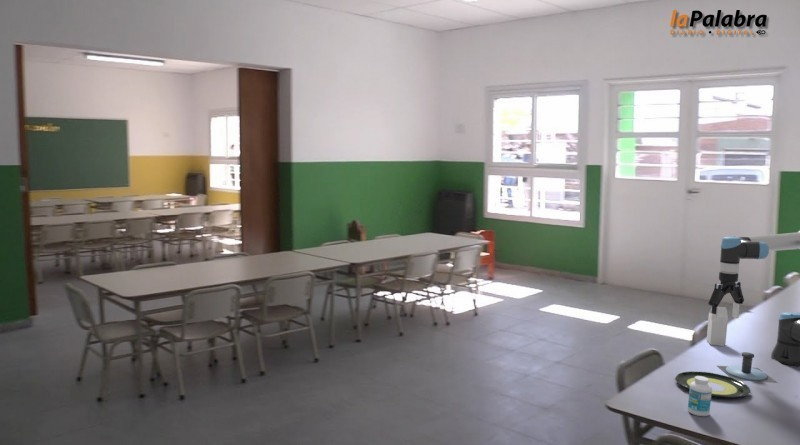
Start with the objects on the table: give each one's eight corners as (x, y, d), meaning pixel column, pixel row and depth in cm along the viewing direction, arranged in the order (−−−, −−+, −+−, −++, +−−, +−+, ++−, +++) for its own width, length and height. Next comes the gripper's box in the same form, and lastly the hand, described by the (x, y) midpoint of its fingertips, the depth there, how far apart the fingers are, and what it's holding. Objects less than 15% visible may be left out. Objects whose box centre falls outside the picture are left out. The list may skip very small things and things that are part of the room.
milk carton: (725, 346, 321) (728, 309, 319) (710, 345, 322) (713, 308, 320) (721, 342, 328) (724, 305, 326) (706, 340, 329) (709, 304, 327)
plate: (719, 407, 245) (720, 400, 245) (659, 382, 270) (660, 376, 269) (765, 395, 258) (765, 389, 258) (704, 372, 283) (704, 367, 282)
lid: (756, 368, 287) (758, 349, 286) (774, 381, 271) (776, 361, 270) (719, 366, 289) (721, 347, 287) (734, 379, 273) (736, 359, 272)
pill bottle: (683, 408, 242) (686, 374, 240) (702, 408, 242) (705, 374, 241) (694, 417, 234) (697, 381, 233) (713, 417, 235) (716, 381, 233)
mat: (757, 369, 288) (757, 367, 288) (777, 383, 270) (777, 382, 270) (716, 366, 290) (716, 365, 290) (733, 381, 272) (733, 380, 272)
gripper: (739, 268, 289) (736, 314, 292) (701, 272, 278) (698, 320, 281) (755, 271, 282) (751, 318, 285) (717, 275, 271) (713, 324, 274)
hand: (725, 319), depth 283 cm, fingers open, 13 cm apart
